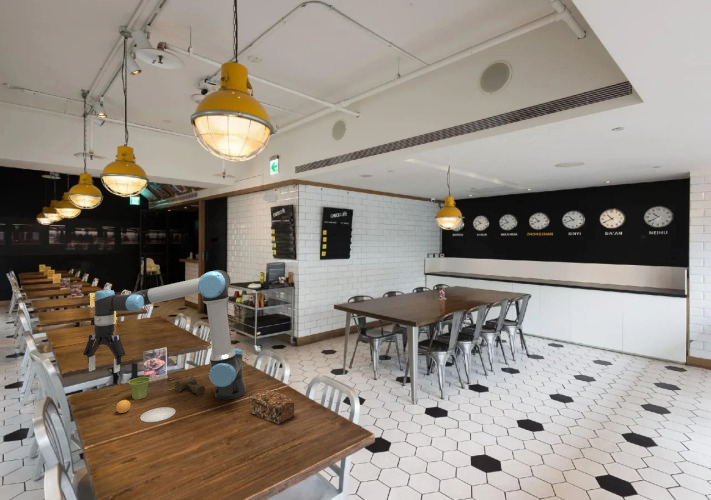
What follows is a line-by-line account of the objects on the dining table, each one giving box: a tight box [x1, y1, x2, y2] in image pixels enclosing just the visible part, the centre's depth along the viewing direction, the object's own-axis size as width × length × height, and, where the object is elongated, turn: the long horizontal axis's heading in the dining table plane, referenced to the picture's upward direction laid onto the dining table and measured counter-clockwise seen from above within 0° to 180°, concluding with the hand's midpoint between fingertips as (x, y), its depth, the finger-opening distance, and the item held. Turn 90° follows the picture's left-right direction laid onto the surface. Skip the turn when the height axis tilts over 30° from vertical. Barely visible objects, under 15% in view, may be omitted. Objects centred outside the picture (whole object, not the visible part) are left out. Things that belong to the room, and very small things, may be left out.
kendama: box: [174, 376, 206, 396], centre depth 192 cm, size 6×10×20 cm
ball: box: [116, 399, 131, 414], centre depth 167 cm, size 6×6×6 cm
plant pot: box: [128, 376, 151, 401], centre depth 183 cm, size 9×9×9 cm
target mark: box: [139, 406, 176, 423], centre depth 165 cm, size 14×14×1 cm
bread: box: [249, 389, 295, 424], centre depth 166 cm, size 19×11×10 cm, turn 56°
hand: (104, 371), depth 168 cm, fingers open, 12 cm apart
